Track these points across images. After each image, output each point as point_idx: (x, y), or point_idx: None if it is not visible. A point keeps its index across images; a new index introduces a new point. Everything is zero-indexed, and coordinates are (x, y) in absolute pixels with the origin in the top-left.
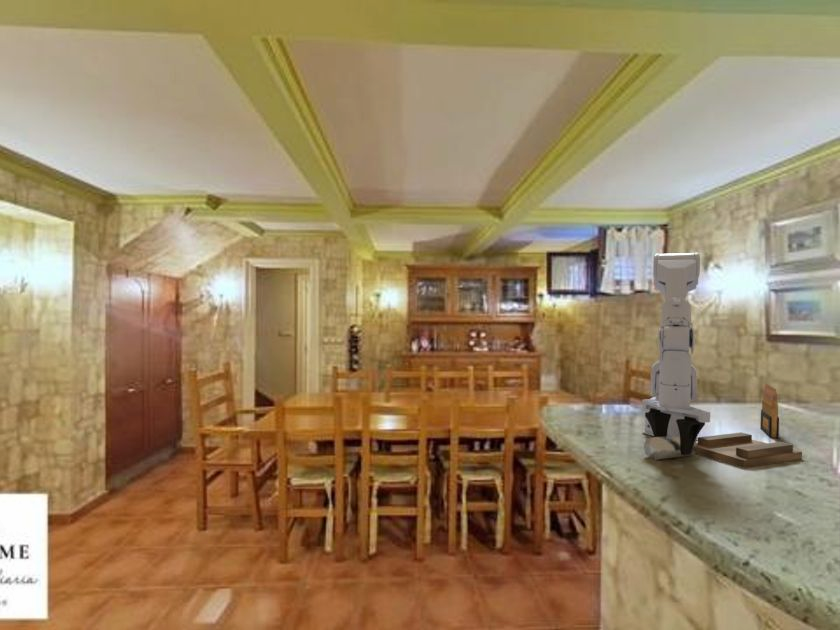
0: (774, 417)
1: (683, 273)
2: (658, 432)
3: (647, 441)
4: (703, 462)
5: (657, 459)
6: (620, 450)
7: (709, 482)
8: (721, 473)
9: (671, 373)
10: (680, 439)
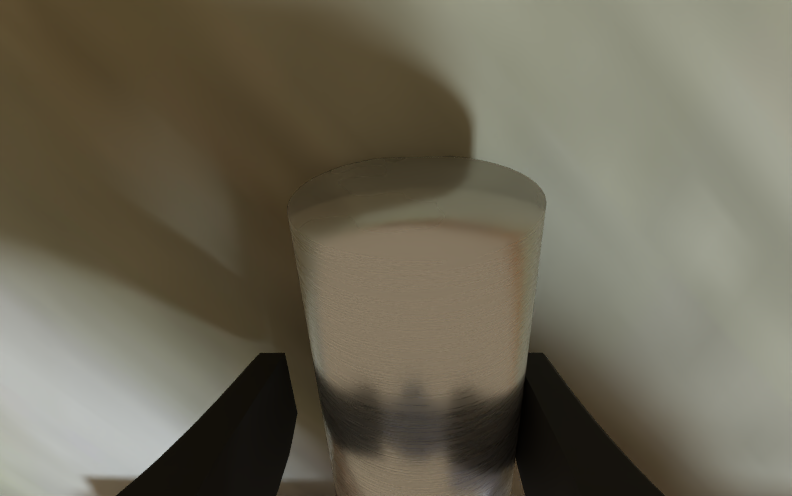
0: None
1: None
2: (557, 475)
3: (503, 221)
4: None
5: (360, 163)
6: (784, 67)
7: None
8: (22, 337)
9: None
10: (219, 449)
